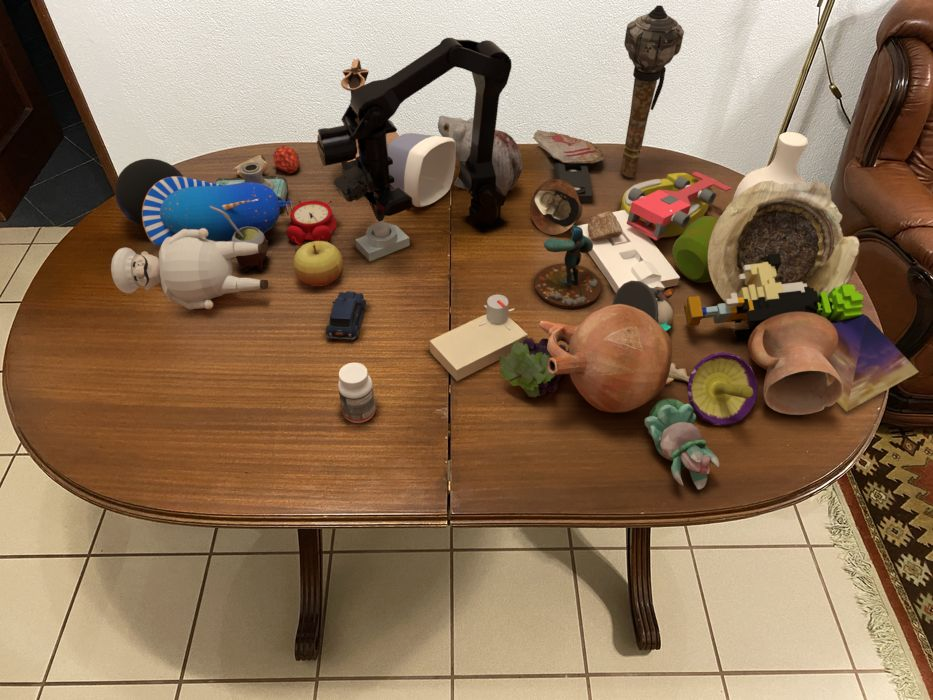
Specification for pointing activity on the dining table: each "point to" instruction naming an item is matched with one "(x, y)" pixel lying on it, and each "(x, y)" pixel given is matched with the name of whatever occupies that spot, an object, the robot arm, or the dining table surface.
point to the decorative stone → (286, 159)
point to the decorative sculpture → (866, 361)
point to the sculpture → (503, 155)
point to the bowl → (422, 166)
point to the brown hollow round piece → (555, 207)
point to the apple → (318, 263)
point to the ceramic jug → (796, 362)
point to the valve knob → (497, 309)
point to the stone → (603, 226)
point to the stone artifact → (568, 148)
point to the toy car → (346, 316)
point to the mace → (647, 74)
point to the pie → (782, 237)
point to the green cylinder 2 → (695, 249)
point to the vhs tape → (575, 179)
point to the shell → (256, 159)
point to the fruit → (530, 367)
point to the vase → (779, 164)
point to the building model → (631, 258)
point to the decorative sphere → (140, 185)
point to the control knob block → (381, 243)
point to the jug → (612, 357)
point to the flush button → (381, 229)
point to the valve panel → (475, 345)
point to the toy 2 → (774, 300)
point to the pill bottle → (356, 393)
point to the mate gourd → (250, 237)
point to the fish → (677, 374)
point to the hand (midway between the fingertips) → (379, 220)
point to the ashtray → (651, 186)
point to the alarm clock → (311, 222)
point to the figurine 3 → (647, 301)
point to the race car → (669, 204)
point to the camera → (259, 180)
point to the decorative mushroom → (722, 389)
